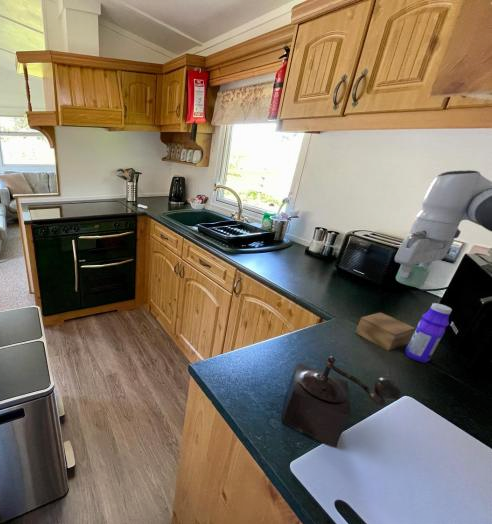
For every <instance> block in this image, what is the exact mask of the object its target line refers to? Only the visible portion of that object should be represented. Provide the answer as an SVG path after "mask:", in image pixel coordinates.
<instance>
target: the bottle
mask: <svg viewBox="0 0 492 524" xmlns="http://www.w3.org/2000/svg"><path fill="white" fill-rule="evenodd" d="M452 312H453V309H452V308H451V307H449V306H447V305H445V304H441V303H435V302H433V303H432V304H431V306H430V308H429V310H427V312H425V313H423V314H422V315H421V317H422V318H421V319H420V320H419V321H418V323H417V325H416V326H417V327H415V328H416V329H414V331H413V333H412V335H411V337H410V339H409V341H408V343H407V344H406V347H405V349H404V350H405V354H406V357H408V358H409V359H411V360H415V361H417V362H420V363H424V364H425V363H428V362H429V361H430V360H431V359H432V356H433V354H434V352H435V350H436V349H437V348H438V345H439V343H440V341H441V339H442V338H443V336H444V334H445V333H446V327H448V326H449V325H450V322H449V317H450V315H451V313H452Z"/></svg>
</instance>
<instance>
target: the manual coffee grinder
mask: <svg viewBox="0 0 492 524" xmlns="http://www.w3.org/2000/svg"><path fill="white" fill-rule="evenodd" d="M335 362H336V358H335V357H334V356H332V355H331V356H328V357H327V360H326V361H325V368H324V371H321V370H318V369H315V368H312V367H310V366H307V365H304V364H302V363H299V362H297V363H296V365H295V368H294V370H293V373H292V376H291V379H290V382H289V384H288V387H287V390H286V392H285V395H284V401H283V407H282V413H281V418H280V420H281V423H282V424H283V425H285V426H287V427H289V428H290V429H292V430H294V431H296V432H299V433H300V434H302V435H304V436H306V437H308V438H309V439H310V438H311V439H313V440H315V441H318V442H320V443H323V444H325V445H328V446H330V447H334V448H338V443H339V441H340V438H341V436H342V433H343V432H344V430H345V427H346V425H347V424H348V421H349V419H350V417H351V413H352V409H351V407H352V406H351V394H350V388H349V387H350V386H349V382H348V381H347V380H344V379H341V378H339V377H336V376H333V375H332V374H330V372H331V370H333V371H334V372H336V373H337V374H339V375H340V376H342V377H345V378H346V379H348V380H350V381H352V382H353V383H355V384H356V385H358V386H360V387H361V388H362V389H363V390H364V391H365V393H367V395H368V397H369V398H370V400H371V401H372V402H374V403H375V404H376V405H378V406H381V407H385V406H386V404H387V402H389V401H398V400H399V399H401V397H402V390H401V388H400V386H398V385H397V383H395V382H394V381H393V380H391V379H390V378H387V377H384V376H382V377H378V378H376V379H375V380H374V389H373V390H372V389H371V388H370V387H369V385H367V384H366V383H365V382H364V381H362V380H361V379H359V378H357V377H356V376H354V375H352V374H350V373H348V372H347V371H345V370H343V369H341V368H340V367H338V366H336V365H335Z"/></svg>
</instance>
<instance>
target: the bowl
mask: <svg viewBox="0 0 492 524" xmlns="http://www.w3.org/2000/svg"><path fill="white" fill-rule="evenodd" d="M401 272H402V264H400V265H399V268H398V271H397V272H396V274H395V280H396V281H397V282H398V283H399V284H402V285H406V286H409V287H413V288H414V287H415V288H421V287H422V286H424V285H425V283H426V281H427V279H428V277H429V274H430V273H431V270H430V269H429V268H424V267H421V266H419V264H415V265H414V266H413V267H412V269H411V272H412V273H411V275H410V277H408V278H404V277H401V276H400V274H401Z"/></svg>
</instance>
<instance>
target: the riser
mask: <svg viewBox="0 0 492 524" xmlns="http://www.w3.org/2000/svg"><path fill="white" fill-rule="evenodd" d="M415 328H416V327H414V326H412V325H409V324H407V323H405V322H403V321H401V320H398V319H397V318H394V317H392V316H390V315H388V314H385V313H383V312H381V311H380V312H375V313H372V314H369V315H364V316H362V317H360V320H359V322H358V325H357V327H356V329H355V333H354V334H357V335H359V336H361V337H362V338H363V339H366V340H368V341H369V342H371V343H373V344H374V345H377V346H379V347H381V348H382V349H384V350H385V351H387V352H388V351H393V350H394V349H397V348H400V347H402V346H405V345H408V344H409V342H410V340H411V338H412V336H413V334H414V332H415V330H416V329H415Z"/></svg>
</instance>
